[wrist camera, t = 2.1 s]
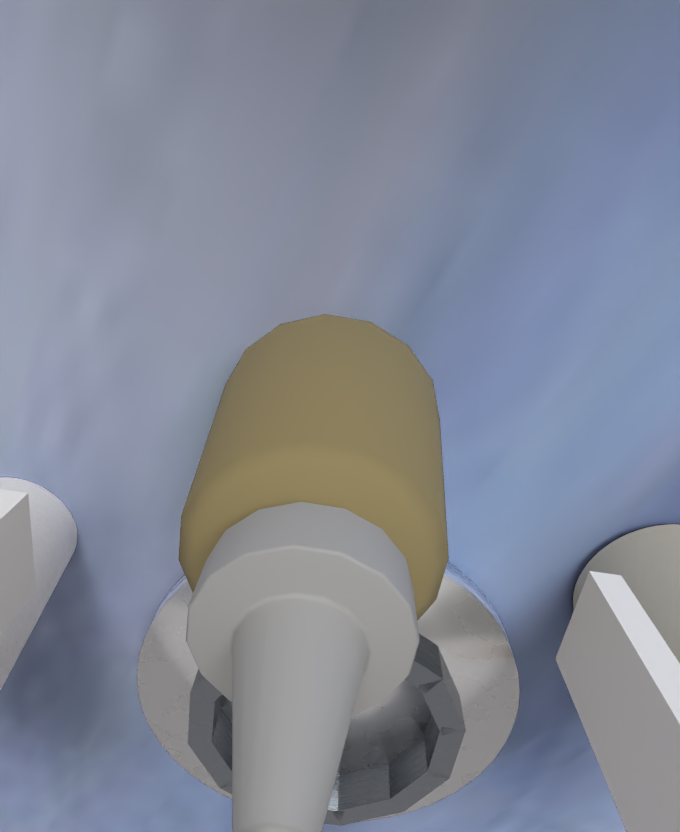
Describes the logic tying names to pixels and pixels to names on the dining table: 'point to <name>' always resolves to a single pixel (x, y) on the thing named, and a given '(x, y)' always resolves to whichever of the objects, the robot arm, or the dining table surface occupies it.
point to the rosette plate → (369, 730)
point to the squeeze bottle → (312, 552)
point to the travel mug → (646, 575)
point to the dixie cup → (38, 564)
